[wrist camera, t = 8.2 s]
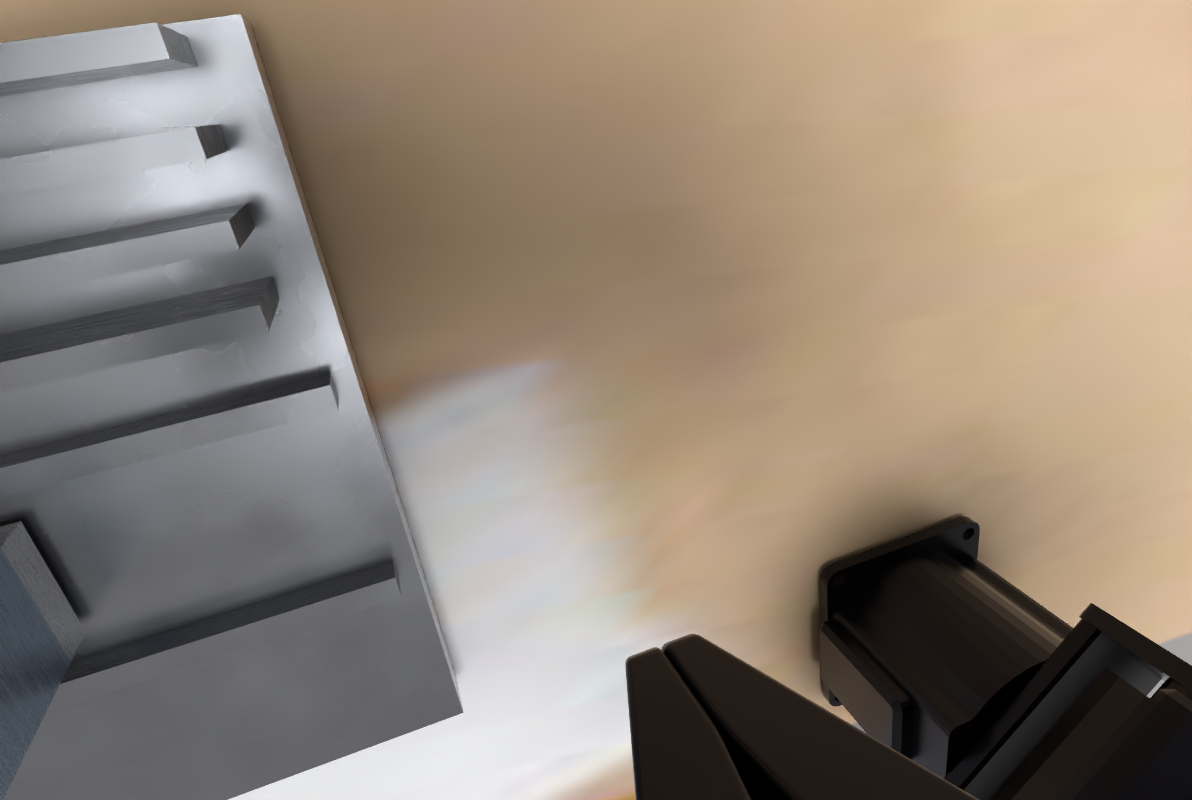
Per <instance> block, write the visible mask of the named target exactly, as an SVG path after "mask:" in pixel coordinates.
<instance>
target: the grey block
mask: <svg viewBox="0 0 1192 800" xmlns="http://www.w3.org/2000/svg"><path fill="white" fill-rule="evenodd" d="M85 632H86V631H85V629H84V628H83V626H82V624H81V622H80V621H79V619H78V617H77V616H76V614H75V612H74V611H73V609H72V607H71V605H70V604H69V602H68V600H67V599H66V597H65V595H64V594H63V592H62V590H61V588H60V587H59V585H58V583H57V582H56V580H55V578H54V577H53V575H52V573H51V571H50V570H49V568H48V566H47V565H46V563H45V561H44V560H43V558H42V556H41V554H40V553H39V551H38V549H37V548H36V546H35V544H34V543H33V541H32V539H31V537H30V536H29V534H28V532H27V531H26V529H25V527H24V526H23V524H22V522H21V521H20V522H16V523H13V524H9V525H5V526H1V527H0V800H3V799H4V797H5V795H6V793H7V791H8V789H9V787H10V785H11V783H12V781H13V779H14V777H15V775H16V773H17V771H18V768H19V766H20V764H21V762H22V760H23V758H24V756H25V754H26V752H27V750H28V748H29V746H30V744H31V742H32V740H33V738H34V736H35V734H36V732H37V730H38V728H39V726H40V724H41V722H42V720H43V718H44V716H45V714H46V712H47V709H48V707H49V705H50V703H51V701H52V699H53V697H54V695H55V693H56V691H57V689H58V687H59V685H60V683H61V681H62V679H63V677H64V675H65V673H66V671H67V669H68V667H69V665H70V663H71V661H72V659H73V657H74V655H75V652H76V650H77V648H78V646H79V644H80V642H81V640H82V638H83V636H84V634H85Z"/></svg>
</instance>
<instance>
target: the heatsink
mask: <svg viewBox="0 0 1192 800" xmlns="http://www.w3.org/2000/svg"><path fill="white" fill-rule="evenodd" d="M20 521H21V522H22V524H23V526H24V527H25V529H26V531H27V532H28V534H29V536H30V537H31V539H32V541H33V543H34V544H35V546H36V548H37V549H38V551H39V553H40V554H41V556H42V558H43V560H44V561H45V563H46V565H47V566H48V568H49V570H50V571H51V573H52V575H53V577H54V578H55V580H56V582H57V583H58V585H59V587H60V588H61V590H62V592H63V594H64V595H65V597H66V599H67V600H68V602H69V604H70V605H71V607H72V609H73V611H74V612H75V614H76V616H77V617H78V619H79V621H80V622H81V624H82V626H83V628H84V629H85V631H86V632H85V634H84V636H83V638H82V640H81V642H80V644H79V646H78V648H77V650H76V652H75V655H74V657H73V659H72V661H71V663H70V665H69V667H68V669H67V671H66V673H65V675H64V677H63V679H62V681H61V683H60V685H59V687H58V689H57V691H56V693H55V695H54V697H53V699H52V701H51V703H50V705H49V707H48V709H47V712H46V714H45V716H44V718H43V720H42V722H41V724H40V726H39V728H38V730H37V732H36V734H35V736H34V738H33V740H32V742H31V744H30V746H29V748H28V750H27V752H26V754H25V756H24V758H23V760H22V762H21V764H20V766H19V768H18V771H17V773H16V775H15V777H14V779H13V781H12V783H11V785H10V787H9V789H8V791H7V793H6V795H5V797H4V799H3V800H228V799H230V798H233V797H236V796H238V795H241V794H244V793H247V792H249V791H252V790H255V789H257V788H260V787H263V786H265V785H268V784H271V783H274V782H276V781H279V780H282V779H284V778H287V777H290V776H293V775H295V774H298V773H301V772H303V771H306V770H309V769H312V768H314V767H317V766H320V765H322V764H325V763H328V762H331V761H333V760H336V759H339V758H341V757H344V756H347V755H350V754H352V753H355V752H358V751H360V750H363V749H366V748H369V747H371V746H374V745H377V744H379V743H382V742H385V741H388V740H390V739H393V738H396V737H398V736H401V735H404V734H407V733H409V732H412V731H415V730H417V729H420V728H423V727H425V726H428V725H431V724H434V723H436V722H439V721H442V720H444V719H447V718H450V717H453V716H455V715H458V714H461V713H463V708H462V703H461V699H460V694H459V689H458V684H457V679H456V675H455V671H454V668H453V665H452V662H451V659H450V656H449V652H448V649H447V646H446V643H445V640H444V637H443V633H442V630H441V627H440V624H439V621H438V618H437V614H436V611H435V608H434V605H433V602H432V598H431V595H430V592H429V589H428V586H427V583H426V579H425V576H424V573H423V570H422V567H421V564H420V560H419V557H418V554H417V551H416V548H415V545H414V541H413V538H412V535H411V532H410V529H409V526H408V522H407V519H406V516H405V513H404V510H403V506H402V503H401V500H400V497H399V494H398V491H397V487H396V484H395V481H394V478H393V475H392V472H391V468H390V465H389V462H388V459H387V456H386V453H385V449H384V446H383V443H382V440H381V437H380V434H379V430H378V427H377V424H376V421H375V418H374V414H373V411H372V408H371V405H370V402H369V399H368V395H367V392H366V389H365V386H364V383H363V380H362V376H361V373H360V370H359V367H358V364H357V361H356V357H355V354H354V351H353V348H352V345H351V342H350V338H349V335H348V332H347V329H346V326H345V322H344V319H343V316H342V313H341V310H340V307H339V303H338V300H337V297H336V294H335V291H334V288H333V284H332V281H331V278H330V275H329V272H328V269H327V265H326V262H325V259H324V256H323V253H322V250H321V246H320V243H319V240H318V237H317V234H316V230H315V227H314V224H313V221H312V218H311V215H310V211H309V208H308V205H307V202H306V199H305V196H304V192H303V189H302V186H301V183H300V180H299V177H298V173H297V170H296V167H295V164H294V161H293V158H292V154H291V151H290V148H289V145H288V142H287V138H286V135H285V132H284V129H283V126H282V123H281V119H280V116H279V113H278V110H277V107H276V104H275V100H274V97H273V94H272V91H271V88H270V85H269V81H268V78H267V75H266V72H265V69H264V66H263V62H262V59H261V56H260V53H259V50H258V46H257V43H256V40H255V37H254V34H253V31H252V27H251V24H250V22H249V21H248V20H247V19H246V18H244V17H243V16H242V15H241V14H237V15H229V16H222V17H214V18H207V19H199V20H192V21H184V22H177V23H169V24H162V25H161V24H159V23H157V22H155V23H148V24H140V25H132V26H125V27H117V28H110V29H102V30H95V31H87V32H80V33H72V34H65V35H57V36H49V37H42V38H34V39H27V40H19V41H12V42H4V43H0V527H1V526H5V525H9V524H13V523H16V522H20Z"/></svg>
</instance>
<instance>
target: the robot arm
mask: <svg viewBox="0 0 1192 800" xmlns="http://www.w3.org/2000/svg"><path fill="white" fill-rule="evenodd" d="M979 531H980V529H979V525H978V524H977V523H976V522H975V521H973V520H972V519H970V518H968V517H960V518H957V519H955V520H952V521H949V522H946V523H944V524H941V525H938V526H935V527H933V528H930V529H927V530H924V531H922V532H919V533H916V534H913V535H911V536H908V537H905V538H902V539H900V540H897V541H894V542H891V543H889V544H886V545H883V546H880V547H878V548H875V549H872V550H869V551H867V552H864V553H861V554H858V555H856V556H853V557H850V558H847V559H845V560H842V561H839V562H836V563H834V564H831V565H830V566H828V567H827V568H826V569H825V570H824V571H823V573H822V574H821V578H820V593H821V627H820V669H821V679H822V681H823V695H824V697H825V698H826V699H827V701H828V702H829V703H830V704H831V705H832V706H840V705H843V706H844V707H845V708H846V709H847V710H848V712H849V713H850V714H851V715H852V716H853V718H854V719H855V720H856V721H857V722H858V724H859V725H860V726H861V727H862V728H863V729H864V731H865V732H866V733H867V734H866V733H864V732H863V731H861V730H859V729H858V728H856V727H855V726H853V725H851V724H849V723H848V722H846V721H844V720H843V719H841V718H839V717H837V716H836V715H834V714H832V713H831V712H829V711H827V710H826V709H824V708H822V707H820V706H819V705H817V704H815V703H814V702H812V701H810V700H809V699H807V698H805V697H803V696H802V695H800V694H798V693H797V692H795V691H793V690H792V689H790V688H788V687H786V686H785V685H783V684H781V683H780V682H778V681H776V680H775V679H773V678H771V677H769V676H768V675H766V674H764V673H763V672H761V671H759V670H758V669H756V668H754V667H752V666H751V665H749V664H747V663H746V662H744V661H742V660H740V659H739V658H737V657H735V656H734V655H732V654H730V653H729V652H727V651H725V650H723V649H722V648H720V647H718V646H717V645H715V644H713V643H712V642H710V641H708V640H706V639H705V638H703V637H701V636H699V635H696V634H689V635H687V636H684V637H681V638H679V639H676V640H673V641H670V642H668V643H666V644H664V645H663V647H662V649H659V648H656V647H655V648H652V649H649V650H646V651H644V652H641V653H638V654H635V655H633V656H630V657H628V658H627V660H626V679H627V692H628V705H629V718H630V731H631V744H632V757H633V770H634V783H635V796H636V800H1192V666H1191V665H1189V664H1188V663H1186V662H1184V661H1183V660H1181V659H1180V658H1178V657H1177V656H1175V655H1173V654H1172V653H1170V652H1169V651H1167V650H1166V649H1164V648H1162V647H1161V646H1159V645H1158V644H1156V643H1154V642H1153V641H1151V640H1150V639H1148V638H1146V637H1145V636H1143V635H1142V634H1140V633H1138V632H1137V631H1135V630H1134V629H1132V628H1131V627H1129V626H1127V625H1126V624H1124V623H1123V622H1121V621H1119V620H1118V619H1116V618H1115V617H1113V616H1111V615H1110V614H1108V613H1107V612H1105V611H1103V610H1102V609H1100V608H1099V607H1097V606H1095V605H1094V604H1092V603H1090V605H1089V606H1088V607H1087V608H1086V609H1085V610H1084V611H1083V613H1082V614H1081V615H1080V616H1079V617H1080V618H1082V619H1081V620H1080V622H1079V623H1078V624H1077V625H1076V626H1075V627H1074V628H1072V627H1071V626H1070V625H1068V624H1067V623H1065V622H1064V621H1063V620H1061V619H1060V618H1058V617H1057V616H1055V615H1054V614H1053V613H1051V612H1050V611H1048V610H1047V609H1046V608H1044V607H1043V606H1041V605H1040V604H1039V603H1037V602H1036V601H1034V600H1033V599H1031V598H1030V597H1029V596H1027V595H1026V594H1024V593H1023V592H1022V591H1020V590H1019V589H1017V588H1016V587H1015V586H1013V585H1012V584H1010V583H1009V582H1008V581H1006V580H1005V579H1003V578H1002V577H1000V576H999V575H998V574H996V573H995V572H993V571H992V570H991V569H989V568H988V567H986V566H985V565H984V564H982V563H981V562H979V561H978V560H977V553H978V542H979ZM1161 679H1163V680H1164V681H1165V682H1164V683H1163V684H1162V686H1161V687H1160V688H1159V689H1158V690H1157V691H1156V692H1155V693H1154V694H1153V696H1152V697H1151V698H1148V697H1147V694H1148V693H1149V692H1150V691H1151V690H1152V689H1153V688H1154V687H1155V686H1156V684H1157V683H1158V682H1159V681H1160V680H1161Z"/></svg>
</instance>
